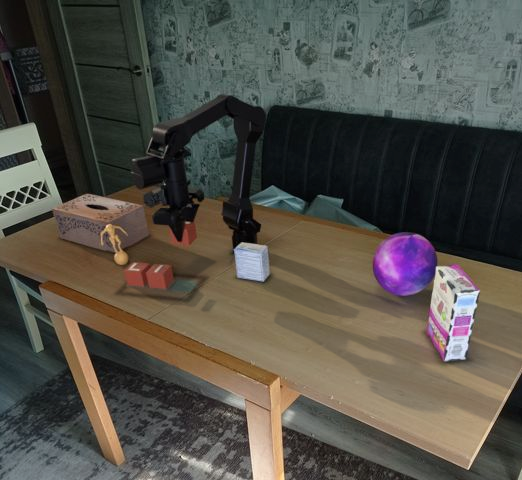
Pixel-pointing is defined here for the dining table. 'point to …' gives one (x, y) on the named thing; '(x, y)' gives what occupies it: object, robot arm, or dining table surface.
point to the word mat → (177, 286)
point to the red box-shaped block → (160, 276)
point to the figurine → (120, 256)
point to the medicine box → (252, 261)
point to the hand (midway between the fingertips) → (184, 237)
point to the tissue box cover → (100, 221)
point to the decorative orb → (404, 263)
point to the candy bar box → (452, 312)
